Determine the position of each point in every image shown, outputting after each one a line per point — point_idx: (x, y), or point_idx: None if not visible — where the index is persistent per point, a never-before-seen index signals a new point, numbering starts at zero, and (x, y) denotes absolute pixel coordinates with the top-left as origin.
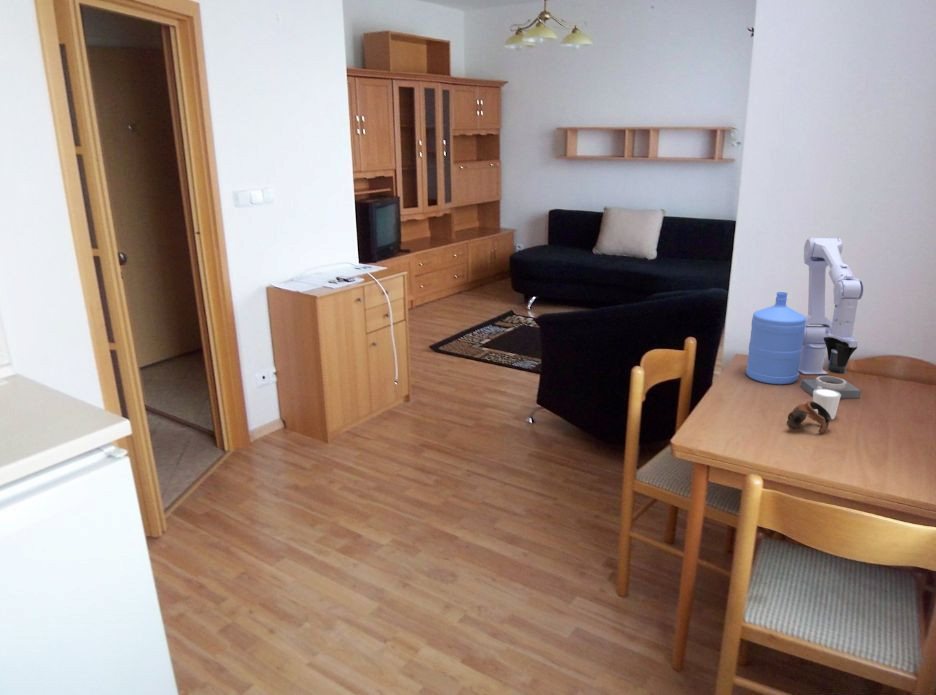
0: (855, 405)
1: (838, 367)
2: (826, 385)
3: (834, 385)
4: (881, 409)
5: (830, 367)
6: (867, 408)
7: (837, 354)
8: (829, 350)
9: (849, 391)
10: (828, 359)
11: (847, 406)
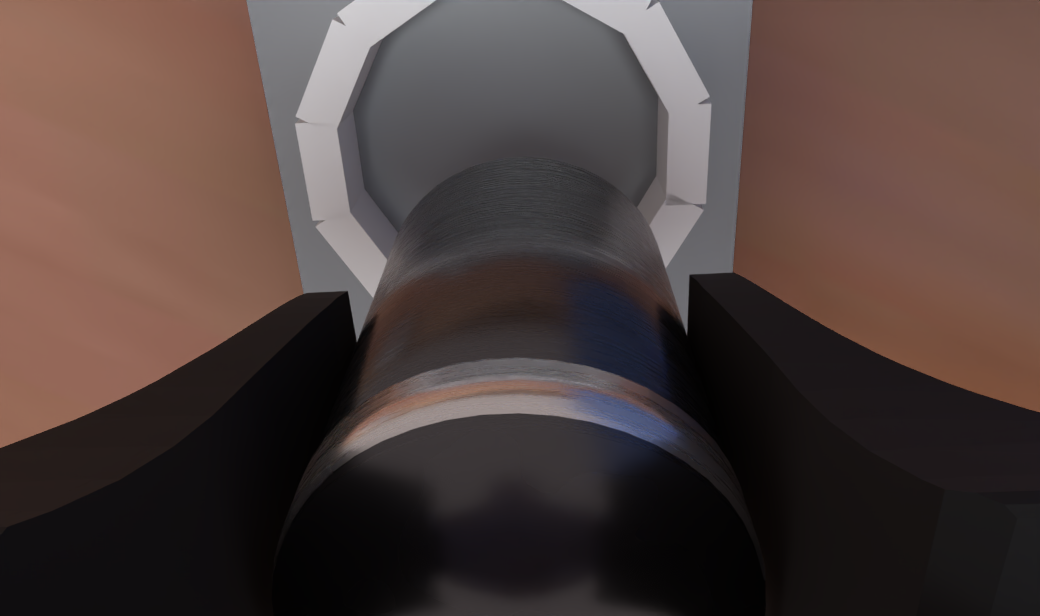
0: (118, 226)
1: (372, 300)
2: (338, 18)
3: (298, 121)
4: (68, 411)
5: (480, 189)
6: (58, 304)
7: (235, 394)
8: (765, 376)
9: (304, 280)
10: (731, 274)
11: (59, 125)
